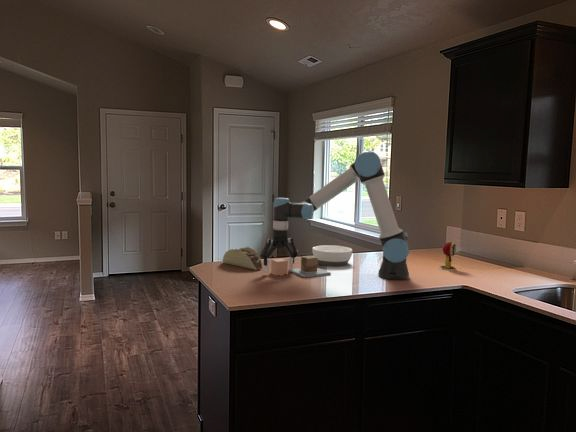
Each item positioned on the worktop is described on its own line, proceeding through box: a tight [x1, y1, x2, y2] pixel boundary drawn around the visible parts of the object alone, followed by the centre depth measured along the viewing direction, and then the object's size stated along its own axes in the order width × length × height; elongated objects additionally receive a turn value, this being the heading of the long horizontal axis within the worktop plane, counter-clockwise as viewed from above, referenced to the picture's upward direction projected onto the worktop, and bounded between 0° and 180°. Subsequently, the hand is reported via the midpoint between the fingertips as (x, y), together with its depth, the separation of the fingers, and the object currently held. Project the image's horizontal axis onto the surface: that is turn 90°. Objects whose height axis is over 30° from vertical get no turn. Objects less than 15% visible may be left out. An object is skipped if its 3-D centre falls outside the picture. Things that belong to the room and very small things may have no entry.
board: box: [287, 267, 332, 279], centre depth 253 cm, size 15×16×1 cm
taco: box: [221, 246, 263, 272], centre depth 263 cm, size 10×27×10 cm, turn 50°
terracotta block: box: [270, 258, 289, 276], centre depth 249 cm, size 6×6×7 cm
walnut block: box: [300, 255, 318, 272], centre depth 252 cm, size 6×6×7 cm
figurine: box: [438, 241, 457, 272], centre depth 274 cm, size 9×10×15 cm
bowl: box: [312, 244, 353, 267], centre depth 280 cm, size 22×22×8 cm
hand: (278, 271), depth 249 cm, fingers open, 13 cm apart
